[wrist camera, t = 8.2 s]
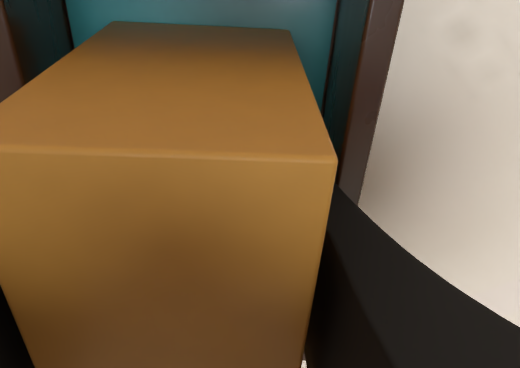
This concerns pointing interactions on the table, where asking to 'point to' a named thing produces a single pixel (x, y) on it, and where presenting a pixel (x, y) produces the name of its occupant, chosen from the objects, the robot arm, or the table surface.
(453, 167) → the table surface
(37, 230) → the carton
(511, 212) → the table surface
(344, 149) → the organizer
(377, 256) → the robot arm
